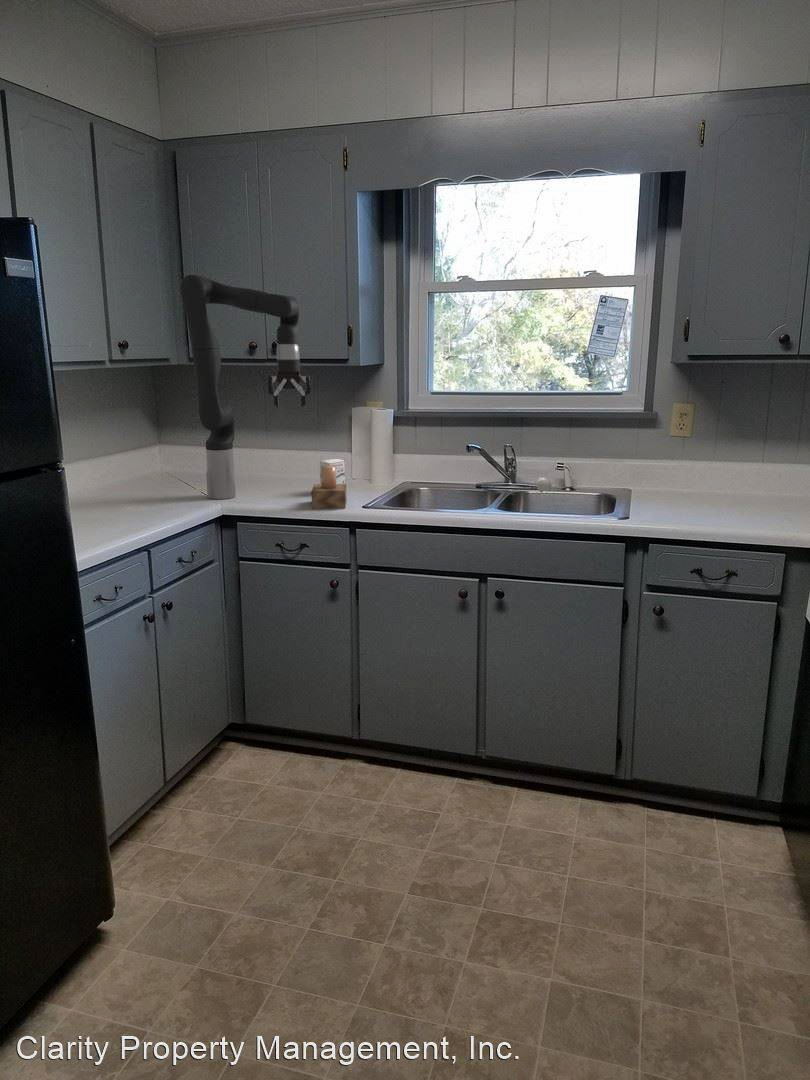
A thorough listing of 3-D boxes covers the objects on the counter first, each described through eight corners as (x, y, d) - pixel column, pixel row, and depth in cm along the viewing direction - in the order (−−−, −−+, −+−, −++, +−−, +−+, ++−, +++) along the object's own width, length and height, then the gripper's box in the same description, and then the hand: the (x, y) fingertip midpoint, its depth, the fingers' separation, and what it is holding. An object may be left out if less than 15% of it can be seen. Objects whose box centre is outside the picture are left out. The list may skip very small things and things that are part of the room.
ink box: (330, 495, 286) (329, 462, 283) (319, 493, 289) (318, 461, 286) (346, 491, 293) (345, 459, 290) (335, 490, 296) (334, 458, 293)
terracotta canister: (320, 488, 266) (320, 468, 264) (321, 486, 271) (321, 465, 269) (335, 488, 266) (335, 468, 264) (336, 485, 271) (336, 465, 269)
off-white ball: (543, 495, 289) (541, 493, 294) (554, 486, 288) (551, 483, 293) (534, 486, 288) (531, 483, 293) (544, 476, 287) (542, 474, 292)
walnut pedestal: (312, 508, 264) (311, 491, 262) (314, 501, 276) (314, 484, 274) (345, 508, 264) (344, 490, 263) (346, 501, 276) (346, 483, 274)
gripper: (265, 358, 263) (267, 408, 267) (308, 358, 263) (310, 407, 267) (268, 357, 270) (270, 406, 274) (310, 357, 270) (312, 405, 274)
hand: (290, 406), depth 271 cm, fingers open, 8 cm apart
